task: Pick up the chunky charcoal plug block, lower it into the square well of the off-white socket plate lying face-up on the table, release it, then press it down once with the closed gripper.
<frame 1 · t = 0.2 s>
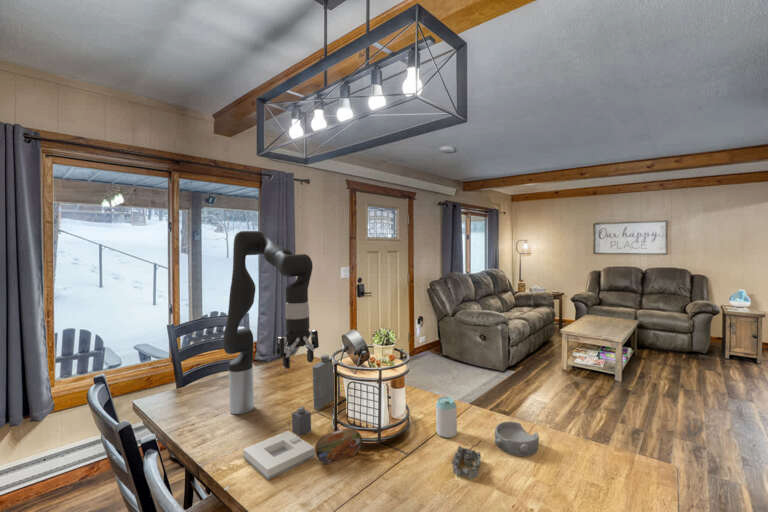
hand: (298, 365, 123), 28 cm above the table, tool pointing down, fingers open, 8 cm apart
plug: (301, 431, 135), on the table
hip flask: (326, 402, 160), on the table
tin: (338, 458, 118), on the table
grey jagged ring: (466, 469, 111), on the table
can: (446, 434, 131), on the table
dish: (515, 447, 123), on the table
socket: (279, 457, 119), on the table
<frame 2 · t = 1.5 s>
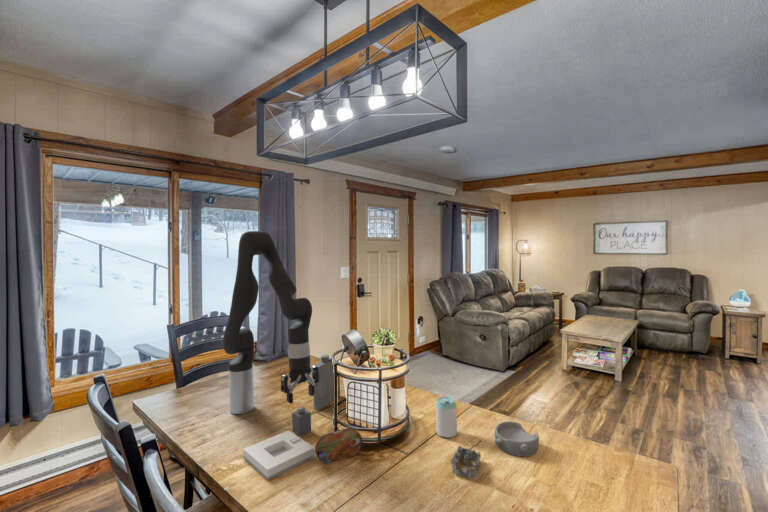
hand: (301, 399, 135), 12 cm above the table, tool pointing down, fingers open, 8 cm apart
nothing on the table moved.
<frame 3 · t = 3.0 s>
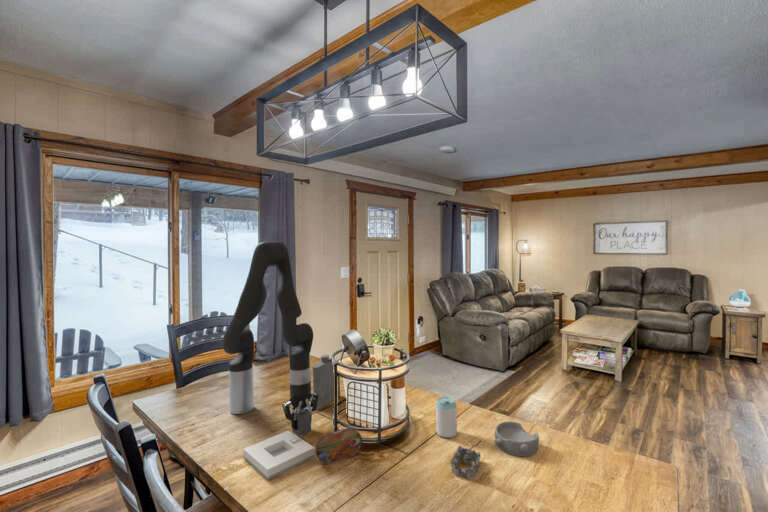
hand: (301, 426, 135), 2 cm above the table, tool pointing down, fingers closed on plug, 5 cm apart
plug: (301, 431, 135), on the table, touching gripper
everything else where it was.
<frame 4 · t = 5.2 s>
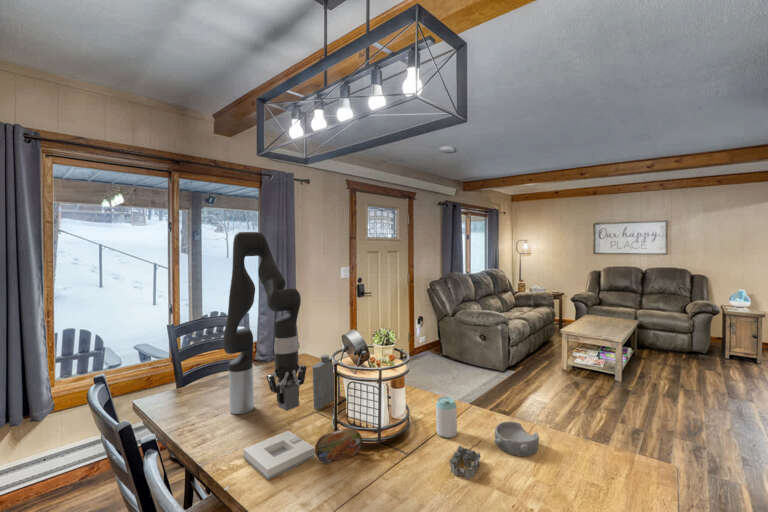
hand: (288, 400, 124), 16 cm above the table, tool pointing down, fingers closed on plug, 4 cm apart
plug: (288, 406, 124), point 14 cm above the table, touching gripper
everything else where it was.
when the fingers open (4 cm above the table, at t = 7.4 s): plug stays where it is, resting on socket.
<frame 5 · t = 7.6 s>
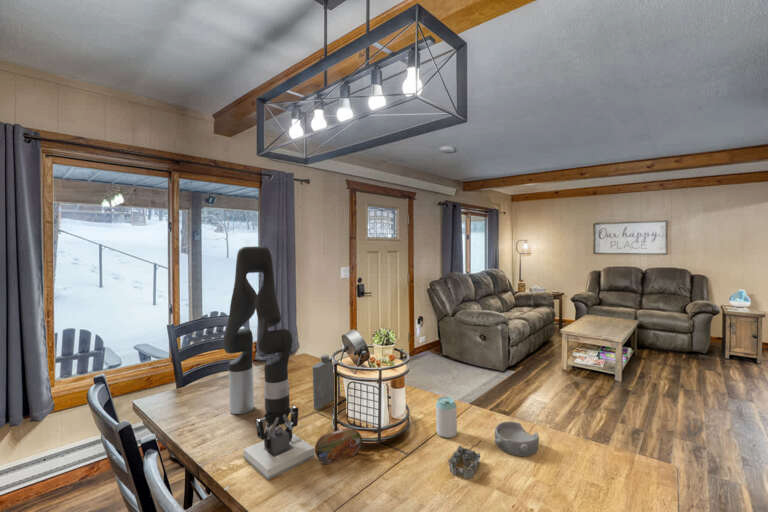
hand: (278, 445, 119), 4 cm above the table, tool pointing down, fingers open, 6 cm apart
plug: (279, 455, 119), point 1 cm above the table, touching socket
everything else where it was.
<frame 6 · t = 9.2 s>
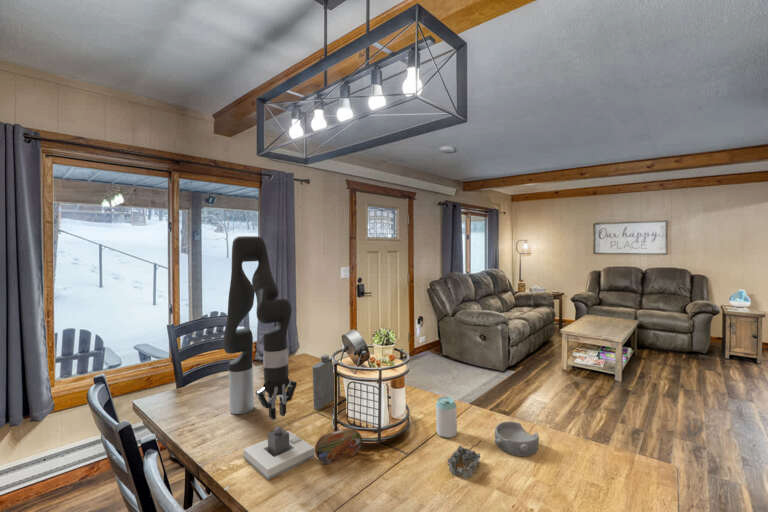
hand: (277, 416, 119), 13 cm above the table, tool pointing down, fingers closed
nothing on the table moved.
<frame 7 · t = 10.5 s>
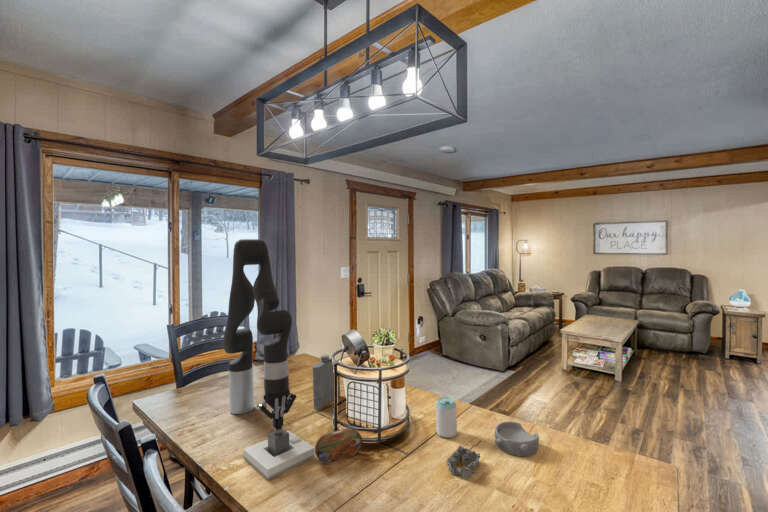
hand: (278, 428, 119), 9 cm above the table, tool pointing down, fingers closed
plug: (279, 455, 119), point 1 cm above the table, touching gripper, socket
everything else where it was.
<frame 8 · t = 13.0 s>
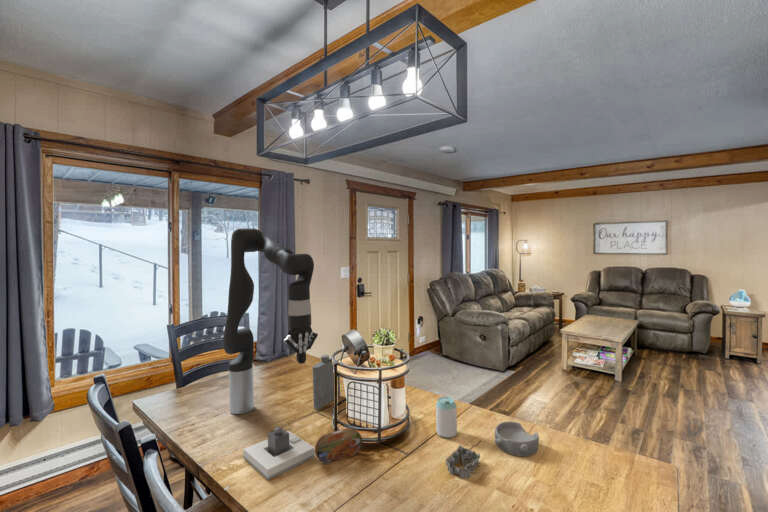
hand: (301, 363, 128), 27 cm above the table, tool pointing down, fingers closed
plug: (279, 455, 119), point 1 cm above the table, touching socket
at the end: plug 0.0 cm off-centre on the socket, point 0.8 cm above the socket's base; plug tilted 0°; the gripper is holding nothing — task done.
